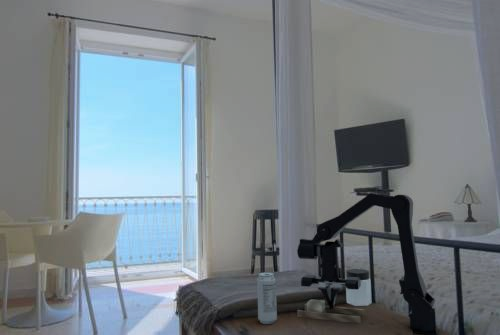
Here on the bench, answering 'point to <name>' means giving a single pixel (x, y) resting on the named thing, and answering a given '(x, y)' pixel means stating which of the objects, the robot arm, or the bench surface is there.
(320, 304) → the block
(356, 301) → the jar
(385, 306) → the bench surface
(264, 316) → the energy drink can
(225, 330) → the bench surface
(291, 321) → the bench surface
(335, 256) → the robot arm
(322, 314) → the chute
